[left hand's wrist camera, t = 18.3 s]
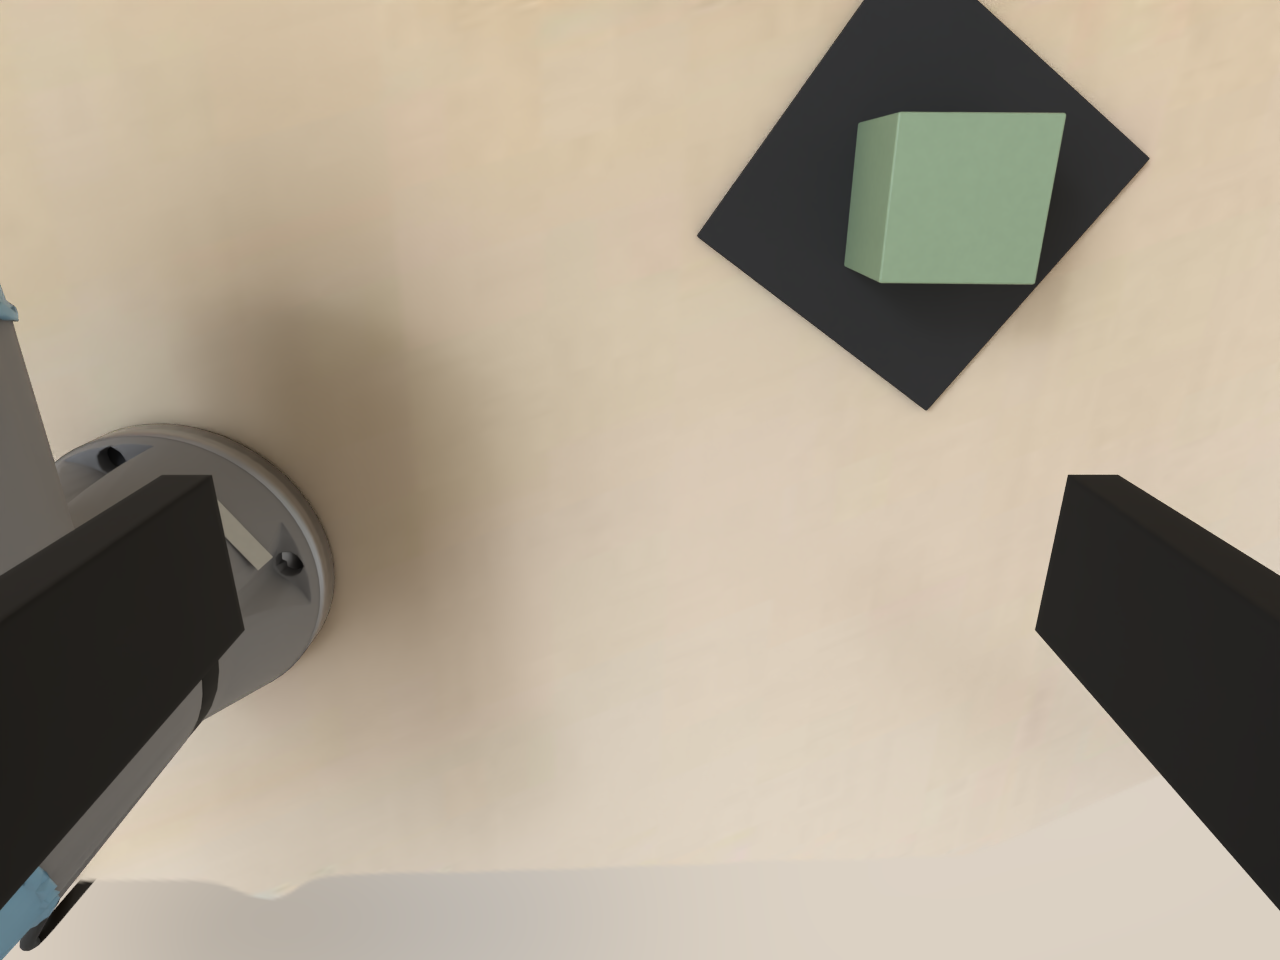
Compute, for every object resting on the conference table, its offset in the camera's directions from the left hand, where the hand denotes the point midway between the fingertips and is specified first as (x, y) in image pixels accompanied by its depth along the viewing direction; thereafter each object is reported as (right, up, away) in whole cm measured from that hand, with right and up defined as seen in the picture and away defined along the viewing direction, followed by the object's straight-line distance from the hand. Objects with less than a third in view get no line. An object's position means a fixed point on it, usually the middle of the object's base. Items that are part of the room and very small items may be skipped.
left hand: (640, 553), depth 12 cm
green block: (+12, +14, +22) cm, 29 cm away
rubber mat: (+12, +14, +23) cm, 29 cm away
